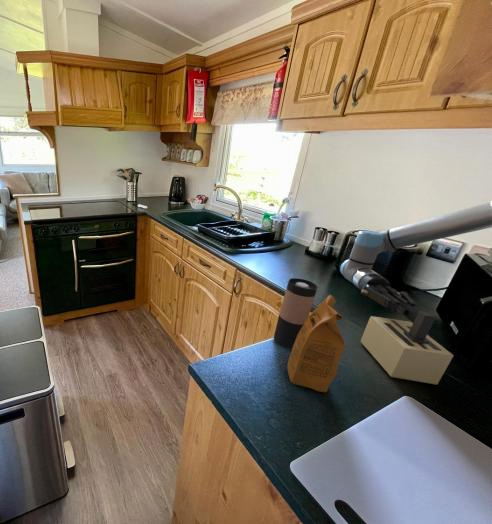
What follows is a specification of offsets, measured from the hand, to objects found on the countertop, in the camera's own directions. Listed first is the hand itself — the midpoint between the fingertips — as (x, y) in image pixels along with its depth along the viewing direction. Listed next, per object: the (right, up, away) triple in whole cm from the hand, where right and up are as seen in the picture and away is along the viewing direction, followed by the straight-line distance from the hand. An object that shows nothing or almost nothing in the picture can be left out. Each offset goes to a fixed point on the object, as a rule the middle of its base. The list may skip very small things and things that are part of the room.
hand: (419, 319), depth 77 cm
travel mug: (-29, -10, +13) cm, 33 cm away
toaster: (-1, -14, +7) cm, 15 cm away
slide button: (-1, -5, 0) cm, 5 cm away
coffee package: (-31, -15, -1) cm, 34 cm away
